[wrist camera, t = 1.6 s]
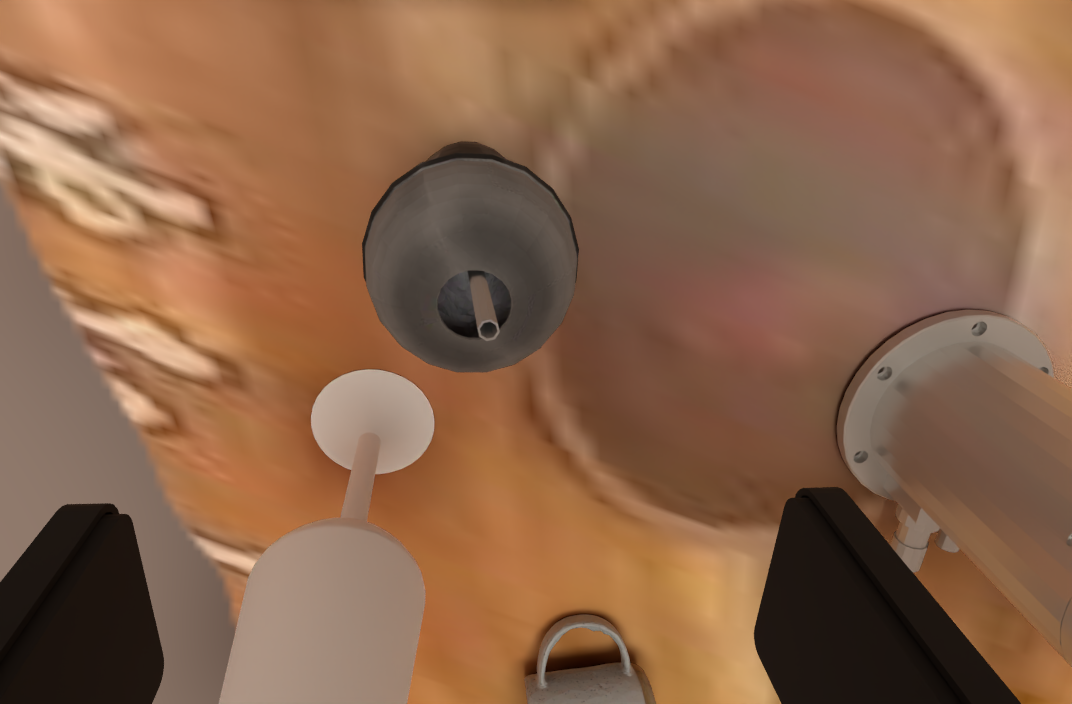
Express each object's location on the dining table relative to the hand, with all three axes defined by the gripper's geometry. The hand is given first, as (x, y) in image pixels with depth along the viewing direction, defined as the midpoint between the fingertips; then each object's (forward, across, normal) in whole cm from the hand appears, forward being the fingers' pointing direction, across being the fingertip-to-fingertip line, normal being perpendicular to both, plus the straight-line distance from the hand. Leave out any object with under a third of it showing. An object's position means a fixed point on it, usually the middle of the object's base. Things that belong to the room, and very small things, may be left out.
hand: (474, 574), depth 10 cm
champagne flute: (+27, +4, +13) cm, 30 cm away
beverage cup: (+27, 0, 0) cm, 27 cm away
